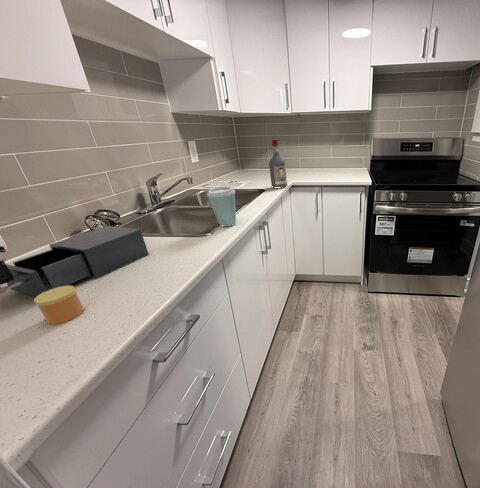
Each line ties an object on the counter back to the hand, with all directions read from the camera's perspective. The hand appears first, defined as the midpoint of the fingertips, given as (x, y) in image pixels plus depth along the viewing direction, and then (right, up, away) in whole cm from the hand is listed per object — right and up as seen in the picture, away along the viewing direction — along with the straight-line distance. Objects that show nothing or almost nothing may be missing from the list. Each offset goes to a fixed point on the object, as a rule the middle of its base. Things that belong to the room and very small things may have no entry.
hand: (3, 282), depth 59 cm
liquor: (+42, +47, +119) cm, 135 cm away
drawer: (+2, -2, +8) cm, 9 cm away
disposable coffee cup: (+32, +17, +50) cm, 62 cm away
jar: (+17, -7, -3) cm, 18 cm away
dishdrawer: (+7, +3, +21) cm, 22 cm away
